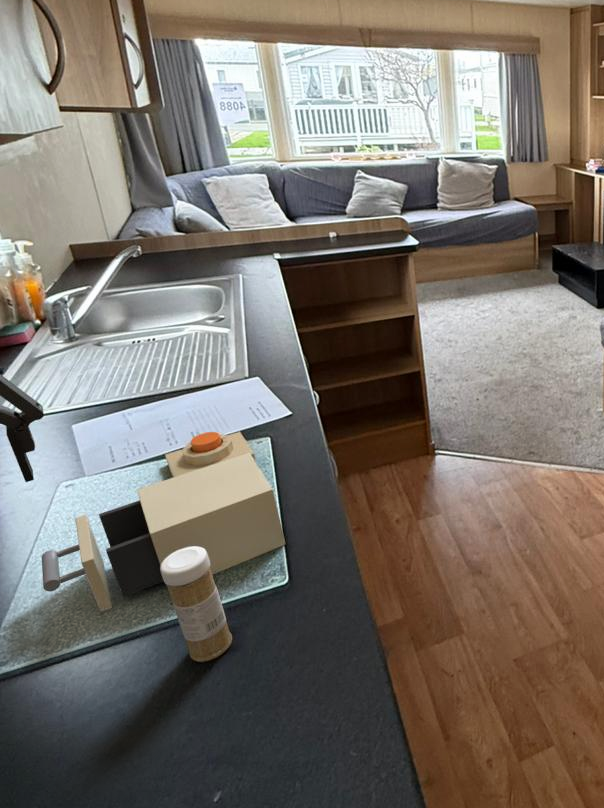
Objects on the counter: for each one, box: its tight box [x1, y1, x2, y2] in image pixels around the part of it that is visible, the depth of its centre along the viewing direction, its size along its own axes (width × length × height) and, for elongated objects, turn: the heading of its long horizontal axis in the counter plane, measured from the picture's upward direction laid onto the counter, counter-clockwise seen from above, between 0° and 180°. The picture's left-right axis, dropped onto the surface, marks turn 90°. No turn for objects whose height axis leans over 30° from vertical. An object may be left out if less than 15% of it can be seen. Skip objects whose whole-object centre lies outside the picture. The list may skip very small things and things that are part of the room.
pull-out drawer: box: [41, 499, 164, 613], centre depth 87 cm, size 18×11×8 cm, turn 130°
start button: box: [190, 431, 222, 453], centre depth 112 cm, size 4×4×2 cm
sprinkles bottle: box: [160, 546, 233, 663], centre depth 75 cm, size 5×5×14 cm
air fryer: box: [136, 453, 286, 591], centre depth 93 cm, size 15×13×10 cm
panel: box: [164, 431, 258, 478], centre depth 113 cm, size 12×10×4 cm
